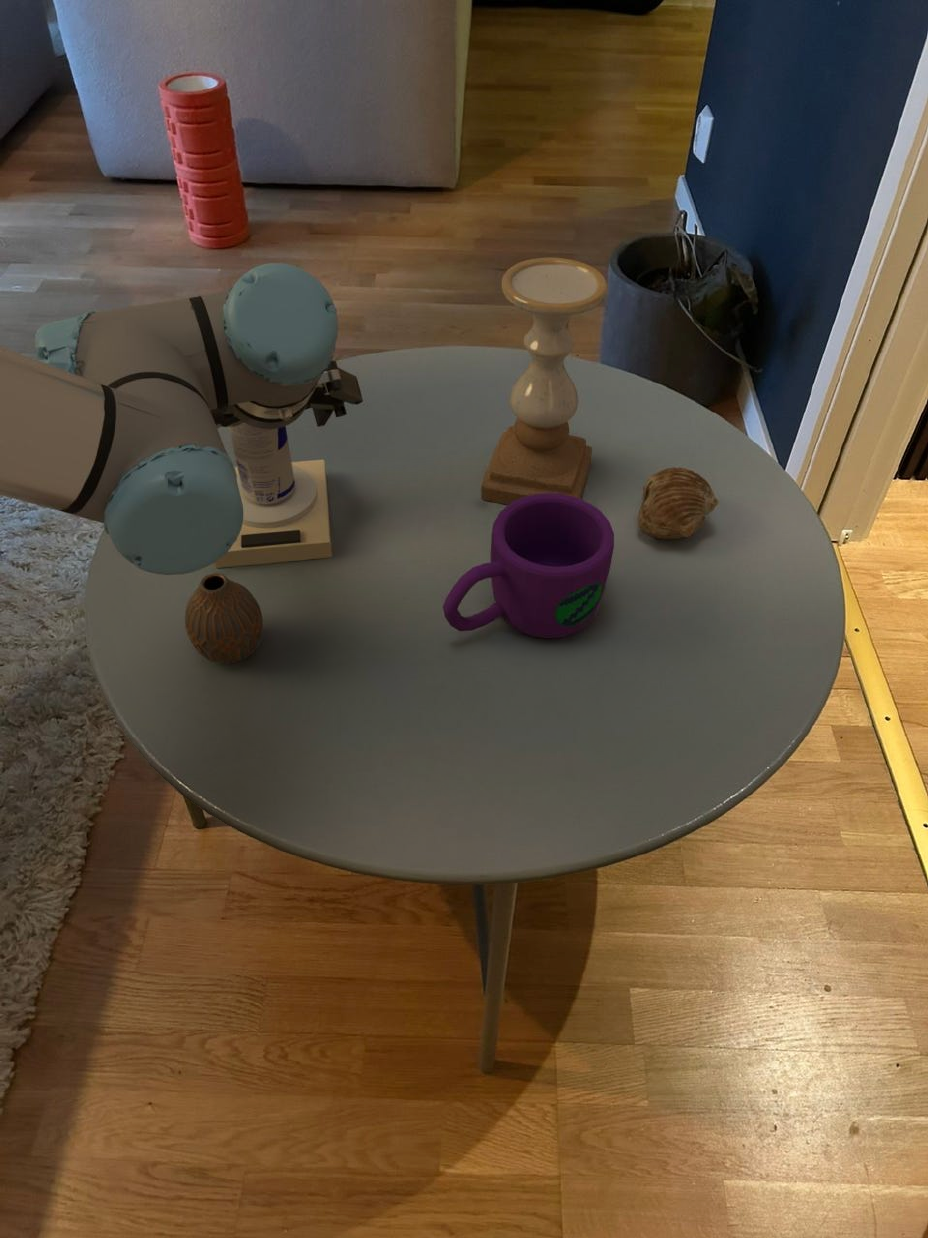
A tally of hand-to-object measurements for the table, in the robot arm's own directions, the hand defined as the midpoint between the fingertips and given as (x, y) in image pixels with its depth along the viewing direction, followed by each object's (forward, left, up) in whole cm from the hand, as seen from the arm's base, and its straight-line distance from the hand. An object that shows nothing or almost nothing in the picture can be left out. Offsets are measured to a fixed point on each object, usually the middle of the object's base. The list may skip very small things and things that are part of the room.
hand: (254, 427), depth 94 cm
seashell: (+44, -10, -10) cm, 46 cm away
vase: (-4, -21, -10) cm, 24 cm away
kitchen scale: (+1, -3, -10) cm, 10 cm away
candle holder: (+31, 0, -10) cm, 32 cm away
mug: (+25, -21, -10) cm, 34 cm away
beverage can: (+1, -2, -7) cm, 7 cm away
